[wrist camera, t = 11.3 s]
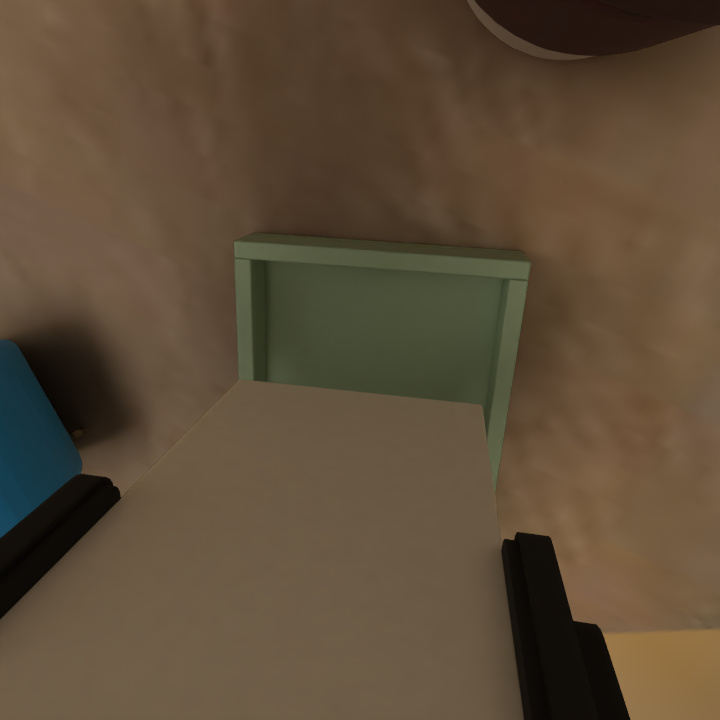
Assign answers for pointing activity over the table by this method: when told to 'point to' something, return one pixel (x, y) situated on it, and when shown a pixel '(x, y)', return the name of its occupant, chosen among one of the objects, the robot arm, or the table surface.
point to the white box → (283, 574)
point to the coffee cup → (592, 24)
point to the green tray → (383, 319)
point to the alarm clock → (29, 441)
